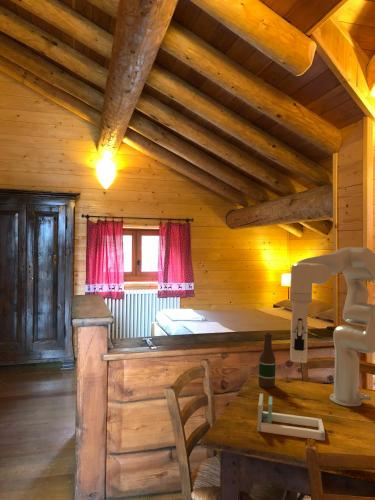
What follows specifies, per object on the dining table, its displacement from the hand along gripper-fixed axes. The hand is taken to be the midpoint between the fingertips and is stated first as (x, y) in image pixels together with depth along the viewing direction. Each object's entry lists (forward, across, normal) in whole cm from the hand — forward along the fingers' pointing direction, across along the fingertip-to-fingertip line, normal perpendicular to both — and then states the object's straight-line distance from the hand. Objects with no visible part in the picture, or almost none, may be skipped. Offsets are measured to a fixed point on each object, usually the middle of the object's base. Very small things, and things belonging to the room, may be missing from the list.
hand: (298, 347), depth 137 cm
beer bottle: (+28, -37, -13) cm, 48 cm away
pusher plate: (+28, +4, -10) cm, 30 cm away
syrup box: (+5, 0, 0) cm, 5 cm away
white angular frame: (+28, +3, -2) cm, 28 cm away
